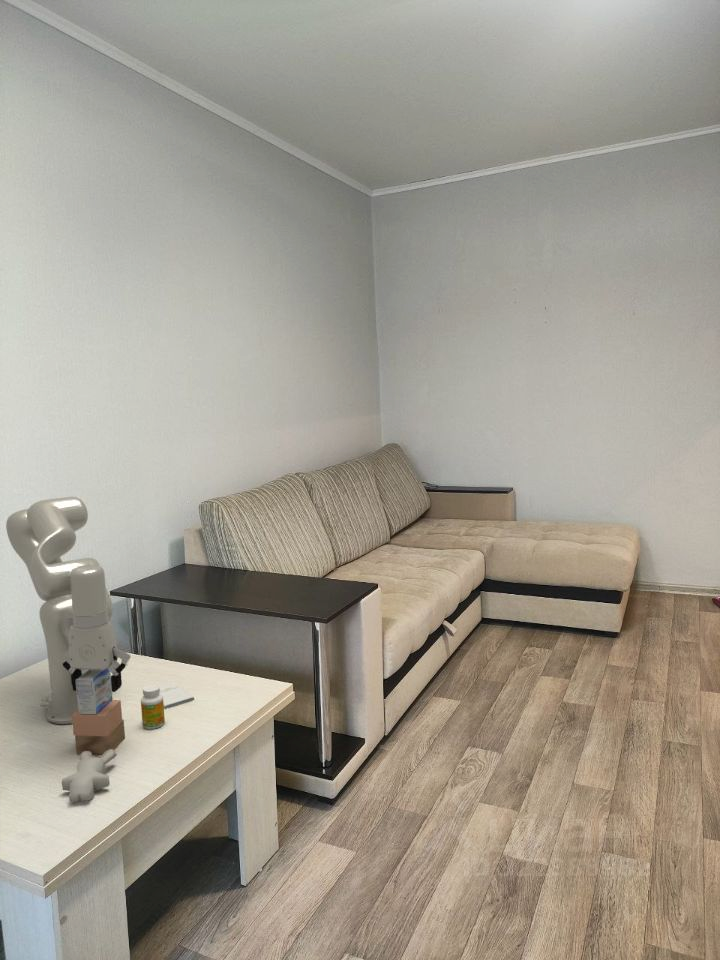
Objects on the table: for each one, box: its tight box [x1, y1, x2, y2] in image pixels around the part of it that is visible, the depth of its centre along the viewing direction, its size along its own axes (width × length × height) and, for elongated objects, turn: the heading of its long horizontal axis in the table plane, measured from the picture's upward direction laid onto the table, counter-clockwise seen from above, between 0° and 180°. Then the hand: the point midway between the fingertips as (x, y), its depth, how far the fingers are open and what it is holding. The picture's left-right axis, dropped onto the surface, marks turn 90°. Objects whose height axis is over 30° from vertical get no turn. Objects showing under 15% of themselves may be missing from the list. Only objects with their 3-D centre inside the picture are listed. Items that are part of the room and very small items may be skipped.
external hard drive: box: [159, 681, 195, 710], centre depth 189 cm, size 2×8×12 cm
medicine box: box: [76, 669, 114, 715], centre depth 163 cm, size 8×4×9 cm, turn 171°
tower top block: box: [71, 699, 123, 736], centre depth 163 cm, size 8×8×5 cm
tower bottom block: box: [74, 719, 126, 757], centre depth 164 cm, size 8×8×5 cm
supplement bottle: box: [140, 684, 166, 730], centre depth 173 cm, size 5×5×10 cm
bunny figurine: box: [61, 749, 117, 803], centre depth 148 cm, size 10×5×15 cm
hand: (97, 688), depth 162 cm, fingers open, 9 cm apart
